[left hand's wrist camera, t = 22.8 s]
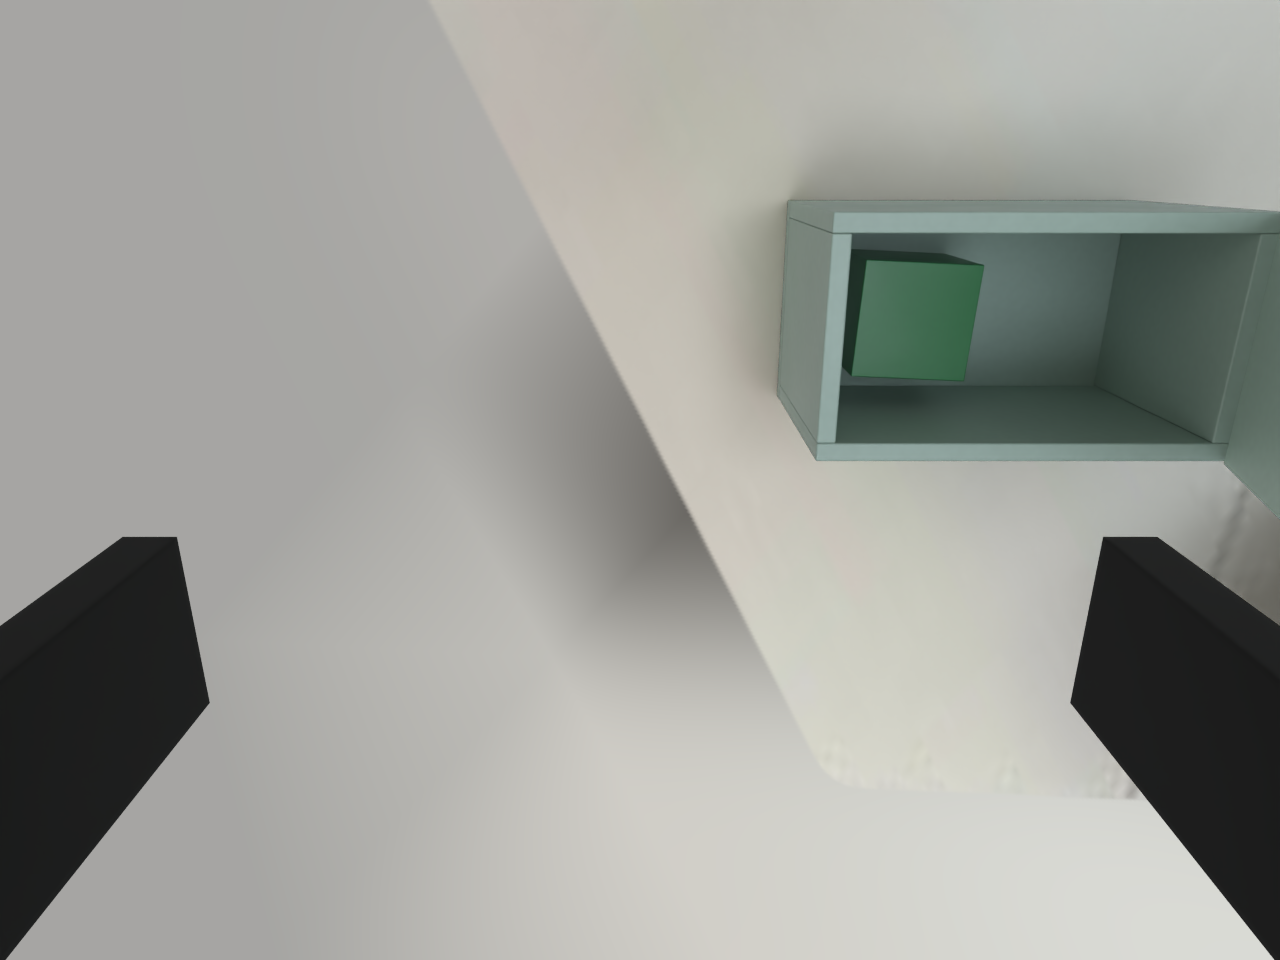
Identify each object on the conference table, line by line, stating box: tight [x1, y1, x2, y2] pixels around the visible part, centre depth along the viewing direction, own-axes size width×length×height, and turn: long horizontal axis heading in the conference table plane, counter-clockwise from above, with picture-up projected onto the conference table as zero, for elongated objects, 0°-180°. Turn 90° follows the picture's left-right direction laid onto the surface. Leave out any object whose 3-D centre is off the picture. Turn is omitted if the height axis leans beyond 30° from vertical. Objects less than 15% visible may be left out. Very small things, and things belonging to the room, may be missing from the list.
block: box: [842, 249, 984, 381], centre depth 42 cm, size 5×5×5 cm
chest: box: [777, 200, 1280, 461], centre depth 40 cm, size 17×10×11 cm, turn 90°
